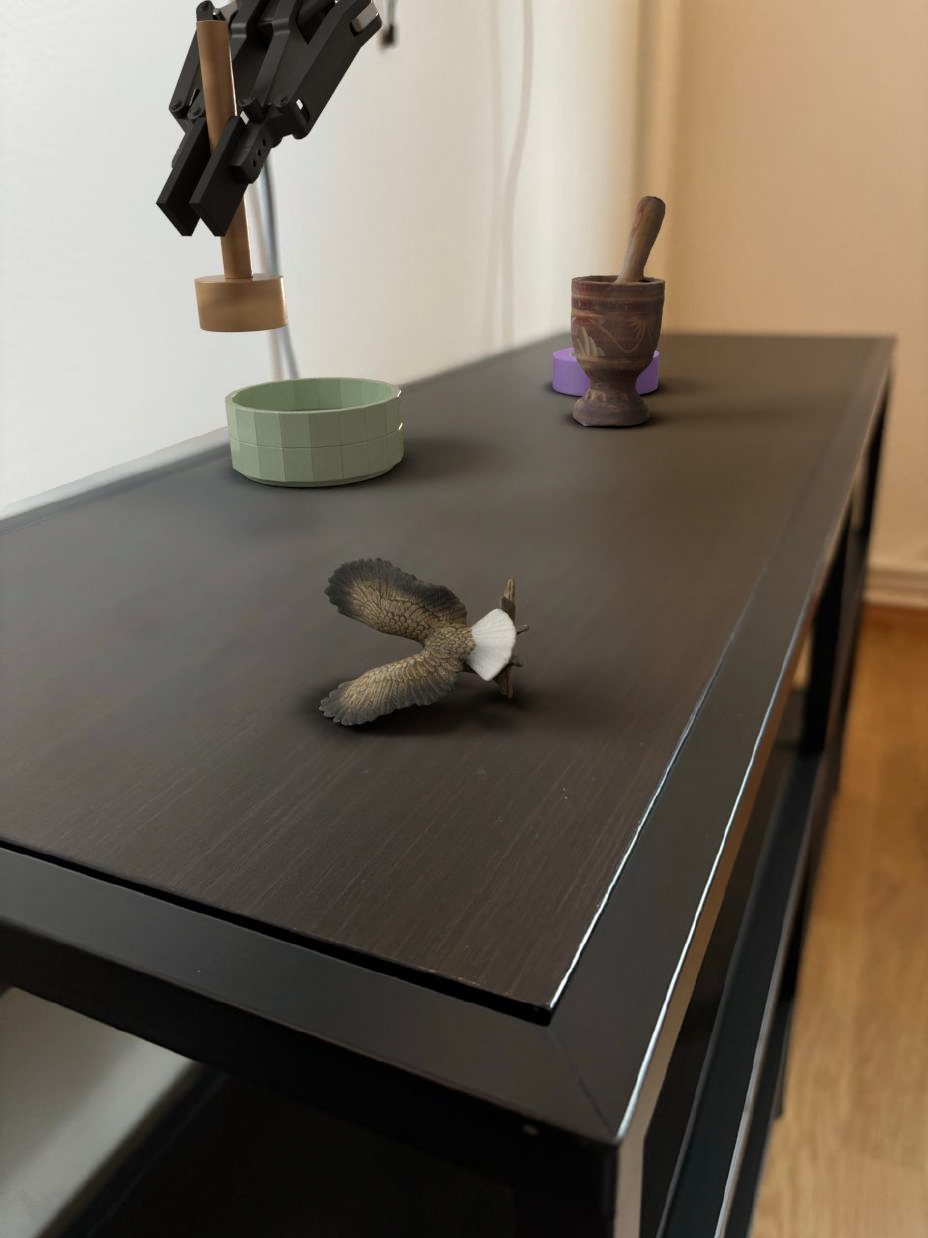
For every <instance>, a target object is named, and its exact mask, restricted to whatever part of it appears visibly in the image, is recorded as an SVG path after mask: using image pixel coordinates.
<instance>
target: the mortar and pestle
mask: <svg viewBox="0 0 928 1238" xmlns="http://www.w3.org/2000/svg"><path fill="white" fill-rule="evenodd" d="M666 207H667V205H666V203H665V202H664V200H663V199H661V198H660V197H658V196H655V195H654V196H653V195H646V196H643V197H641V199H640V200H639V201H638V203H637V205H636V206H635V208H634V212H633V214H632V219H631V224H630V229H629V232H628V233H629V234H628V239H627V247H626V250H625V254H624V258H623V262H622V266H621V269H620V272H619V273H618V274H609V275H607V274H606V275H601V274H600V275H597V274H596V275H592V274H590V275H585V276H576V277H573V278H571V283H570V284H571V286H570V289H571V291H570V292H571V293H570V295H571V298H570V299H571V300H570V307H571V310H570V311H571V312H570V336H571V343H572V346H573V347H572V348H574V351H575V355H576V360H577V362H578V364H579V365H580V367H581V368H582V369H583V371H584V372H585V374H586V375H587V376H588V378H589V384H590V388H589V389H588V391H586V394H585V396H580V398H579V399H577V401H576V402H575V404H574V406H573V411H572V417H573V419H575V420H576V421H577V422H578V423H580V424H581V425H582V426H584V427H588V426H589V427H591V426H592V427H593V426H594V427H595V426H596V427H597V426H598V427H599V426H601V427H624V426H625V427H627V426H635V425H639V424H643V423H645V422H646V421H647V420H648V419H649V418H650V415H651V414H650V412H649V408H648V404H647V403H646V401H645V400H644V399H643V397H641V394H638V392H637V390H636V381H637V378H638V376H639V375H640V374H641V373H642V372H643V371H644V370H645V369H646V368H647V367H648V366H649V365H650V364H651V362H652V360H653V357H654V353H655V350H656V351H657V348H658V345H659V343H660V342H659V341H660V337H661V332H662V325H663V313H664V307H665V306H664V305H665V300H666V280H665V279H662V278H655V277H653V276H650V277H648V276H645V275H644V273H645V271H644V270H645V267H646V265H647V262H648V260H649V257H650V254H651V252H652V249H653V247H654V245H655V244H656V240H657V238H658V237H659V234H660V232H661V228H662V225H663V222H664V219H665V216H666V210H667V208H666Z"/></svg>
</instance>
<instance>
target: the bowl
mask: <svg viewBox="0 0 928 1238" xmlns="http://www.w3.org/2000/svg"><path fill="white" fill-rule="evenodd" d="M402 403H403V401H402V390H401V389H400V388H399V387H398V385H395V384H393V383H392V384H391V383H389V382H386V381H383V380H377V379H371V378H364V377H363V378H361V377H344V376H333V377H332V376H329V377H328V376H326V377H325V376H323V377H322V376H321V377H320V376H319V377H318V376H317V377H315V376H314V377H302V378H301V377H300V378H288V379H281V380H272V381H266V382H261V383H256V384H252V385H248V386H244V387H241V388H239V389H236V390H233V391H231V392H230V393H228V394H227V395H226V396H224V405H225V414H226V423H227V429H228V431H227V432H228V440H229V448H230V456H231V457H230V458H231V463H232V468H233V470H235V471H237V472H239V473H240V474H242V475H243V476H244V477H245V478H247V479H249V480H251V481H254V482H257V483H261V484H265V485H271V486H277V487H289V488H317V487H318V488H319V487H320V488H321V487H331V486H332V487H333V486H339V485H340V486H341V485H347V484H352V483H358V482H362V481H366V480H369V479H374V478H376V477H379V476H381V475H384V474H386V473H387V472H390V471H391V470H392V469H393V468H394V466H395V465H397V464H399V463H400V462H402V460H403V457H404V454H405V449H404V448H405V447H404V446H405V445H404V427H403V425H404V424H403V405H402Z"/></svg>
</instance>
